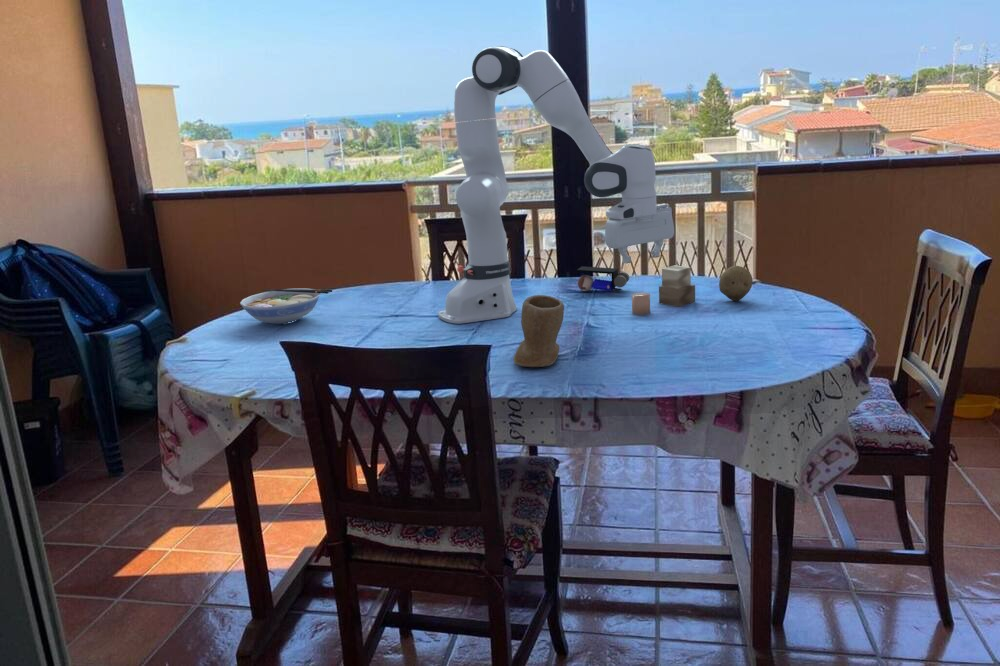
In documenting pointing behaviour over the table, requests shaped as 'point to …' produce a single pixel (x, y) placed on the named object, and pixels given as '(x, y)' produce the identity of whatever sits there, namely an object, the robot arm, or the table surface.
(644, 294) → the tan rounded cylinder
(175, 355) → the table surface
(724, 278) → the natural sponge
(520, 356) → the stone cup
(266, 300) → the ramen bowl
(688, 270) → the tower top
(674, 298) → the tower base
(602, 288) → the toy car
